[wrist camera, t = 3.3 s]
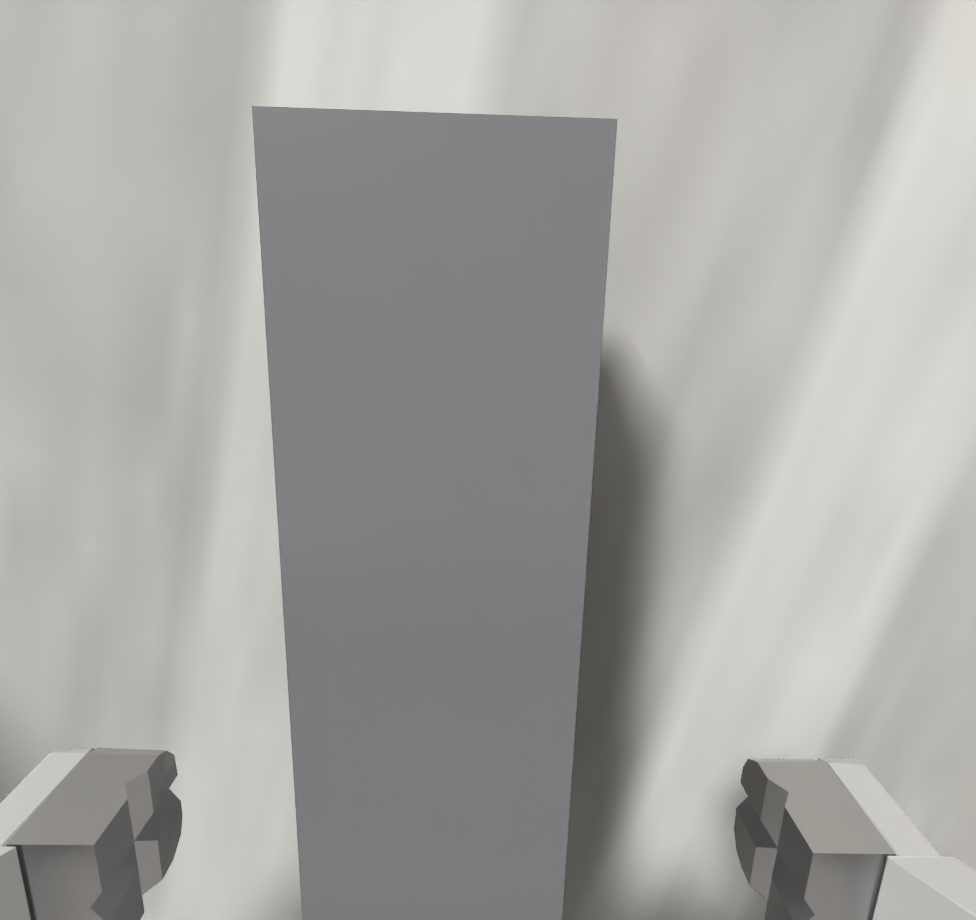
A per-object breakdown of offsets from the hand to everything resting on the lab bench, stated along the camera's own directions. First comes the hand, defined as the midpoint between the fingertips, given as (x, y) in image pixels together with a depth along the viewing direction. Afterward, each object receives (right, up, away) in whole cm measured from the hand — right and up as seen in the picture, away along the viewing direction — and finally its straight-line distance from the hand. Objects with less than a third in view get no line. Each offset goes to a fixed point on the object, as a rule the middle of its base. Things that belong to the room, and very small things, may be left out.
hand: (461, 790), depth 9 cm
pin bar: (0, +1, +5) cm, 6 cm away
